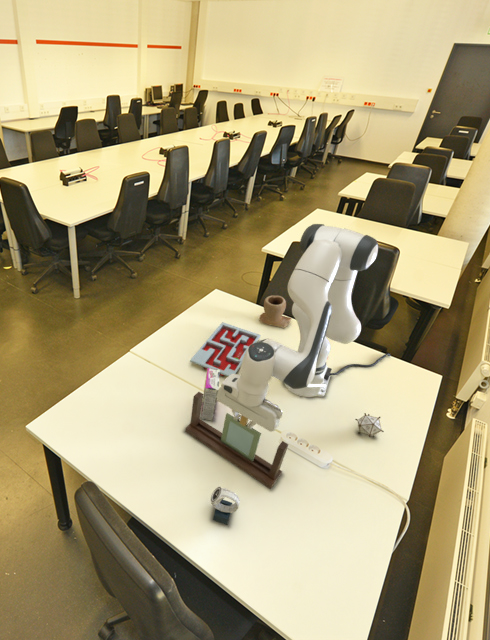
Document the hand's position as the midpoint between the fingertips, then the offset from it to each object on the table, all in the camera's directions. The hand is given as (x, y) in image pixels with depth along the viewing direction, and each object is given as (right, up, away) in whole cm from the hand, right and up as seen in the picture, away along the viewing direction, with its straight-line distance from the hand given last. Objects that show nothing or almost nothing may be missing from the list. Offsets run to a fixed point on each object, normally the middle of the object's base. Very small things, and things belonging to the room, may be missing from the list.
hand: (243, 423), depth 124 cm
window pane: (0, -11, +8) cm, 14 cm away
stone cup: (+34, +34, +75) cm, 89 cm away
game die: (+49, -8, +19) cm, 53 cm away
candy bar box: (-7, -1, +27) cm, 28 cm away
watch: (-8, -26, -7) cm, 28 cm away
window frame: (-2, -12, +11) cm, 17 cm away
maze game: (+6, +20, +55) cm, 59 cm away
